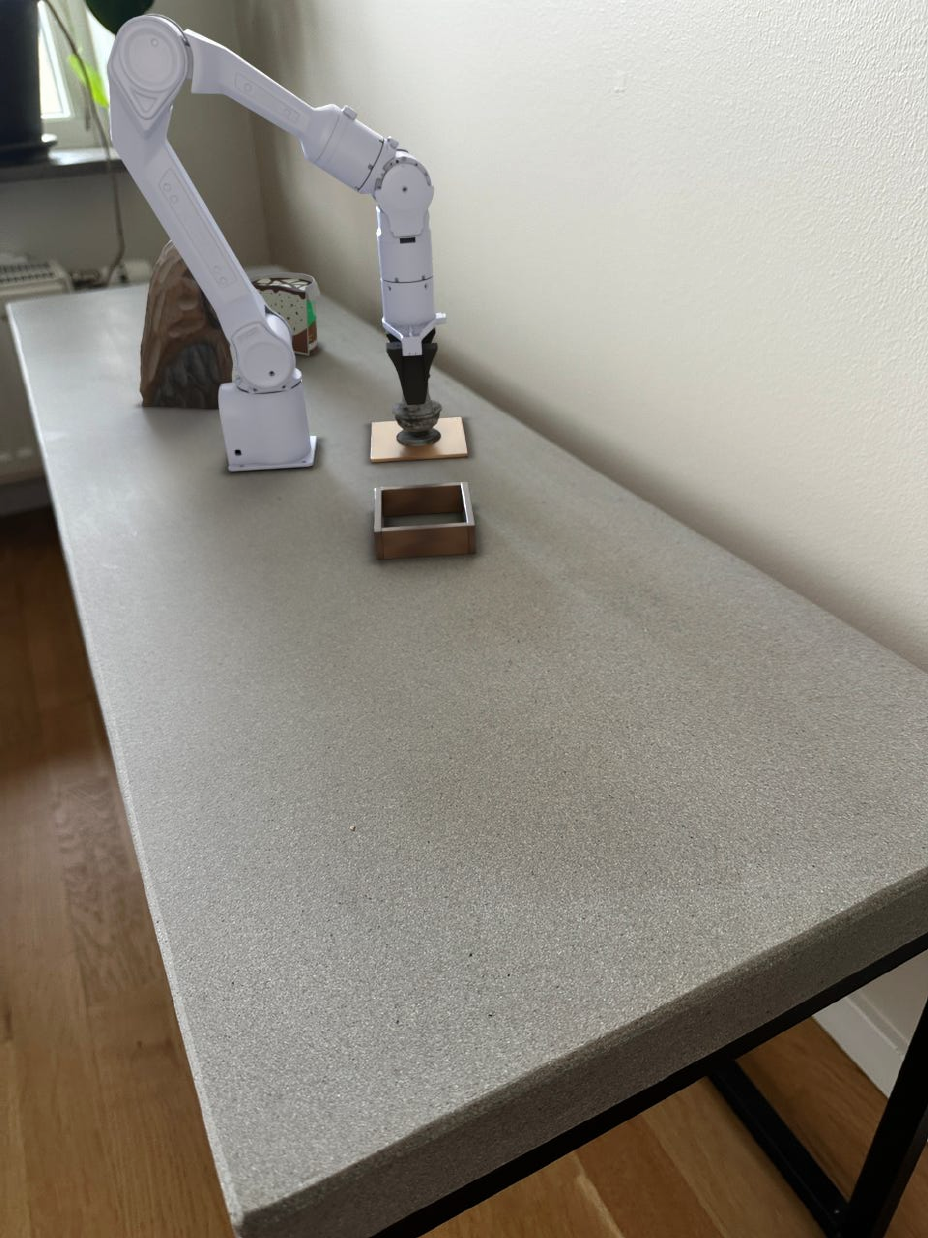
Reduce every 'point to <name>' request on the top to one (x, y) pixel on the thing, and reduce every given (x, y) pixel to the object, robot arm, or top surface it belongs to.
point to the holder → (424, 536)
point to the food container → (292, 305)
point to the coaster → (392, 450)
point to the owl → (181, 340)
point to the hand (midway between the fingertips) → (415, 397)
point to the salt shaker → (417, 421)
